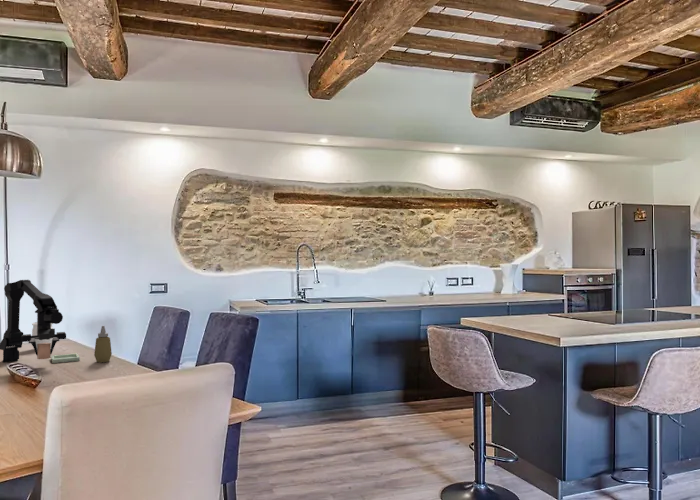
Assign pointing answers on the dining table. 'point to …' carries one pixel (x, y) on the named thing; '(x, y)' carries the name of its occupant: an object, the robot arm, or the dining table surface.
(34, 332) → the jar
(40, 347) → the pink rounded cylinder
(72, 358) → the tray
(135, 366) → the dining table surface
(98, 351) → the squeeze bottle
